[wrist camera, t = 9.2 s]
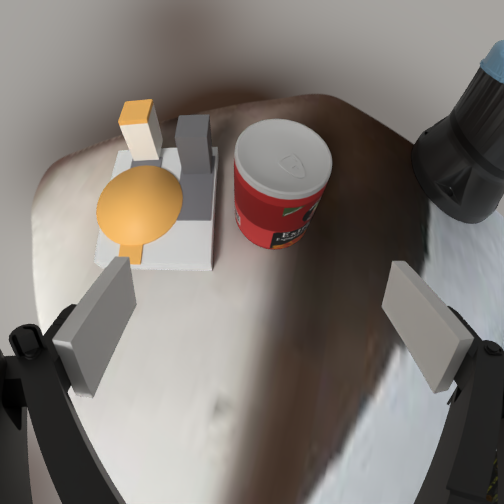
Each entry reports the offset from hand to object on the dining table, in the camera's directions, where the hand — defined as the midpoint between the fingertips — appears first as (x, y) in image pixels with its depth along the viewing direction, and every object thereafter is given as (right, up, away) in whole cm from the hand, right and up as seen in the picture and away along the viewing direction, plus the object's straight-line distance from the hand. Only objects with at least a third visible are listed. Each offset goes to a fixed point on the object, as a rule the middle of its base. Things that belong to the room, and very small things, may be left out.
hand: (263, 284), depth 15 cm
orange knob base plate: (-11, +6, +19) cm, 22 cm away
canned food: (+1, +5, +19) cm, 20 cm away
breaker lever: (-12, +13, +19) cm, 26 cm away
